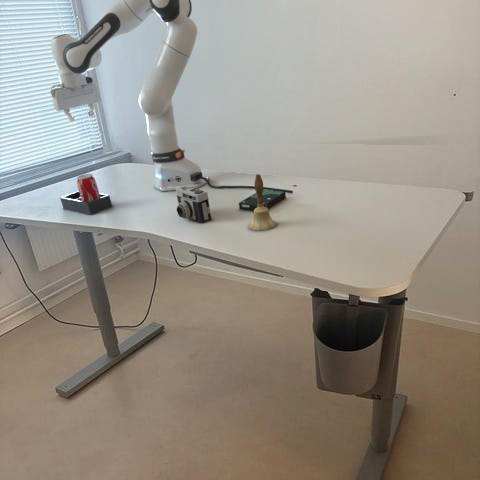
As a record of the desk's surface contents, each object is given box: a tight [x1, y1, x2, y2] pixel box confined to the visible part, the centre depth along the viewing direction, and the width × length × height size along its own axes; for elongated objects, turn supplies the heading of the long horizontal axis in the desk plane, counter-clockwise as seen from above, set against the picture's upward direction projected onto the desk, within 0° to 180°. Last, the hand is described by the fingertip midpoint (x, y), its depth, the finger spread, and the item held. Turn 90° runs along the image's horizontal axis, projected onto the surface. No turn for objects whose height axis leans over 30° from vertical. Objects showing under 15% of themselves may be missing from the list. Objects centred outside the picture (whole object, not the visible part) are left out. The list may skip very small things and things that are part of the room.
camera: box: [175, 186, 212, 224], centre depth 165 cm, size 14×8×10 cm, turn 37°
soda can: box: [76, 173, 100, 202], centre depth 189 cm, size 7×7×12 cm
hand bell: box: [249, 173, 277, 232], centre depth 150 cm, size 8×8×16 cm
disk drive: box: [238, 189, 287, 212], centre depth 171 cm, size 10×3×15 cm
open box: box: [59, 190, 113, 216], centre depth 194 cm, size 19×10×5 cm, turn 49°
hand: (81, 118), depth 204 cm, fingers open, 8 cm apart
